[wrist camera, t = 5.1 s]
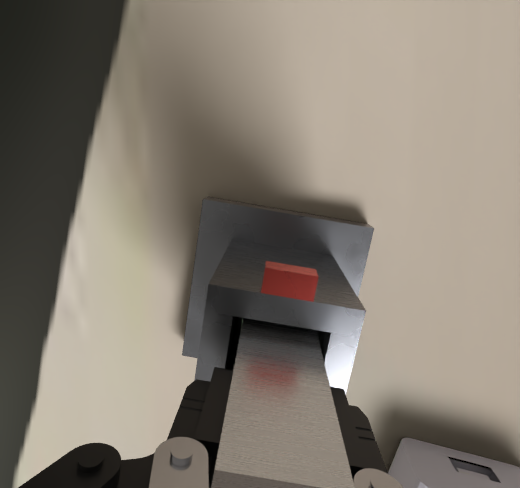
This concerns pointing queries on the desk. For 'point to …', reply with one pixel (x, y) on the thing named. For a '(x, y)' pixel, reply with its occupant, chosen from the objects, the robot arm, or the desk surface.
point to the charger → (448, 468)
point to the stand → (275, 282)
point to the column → (280, 414)
